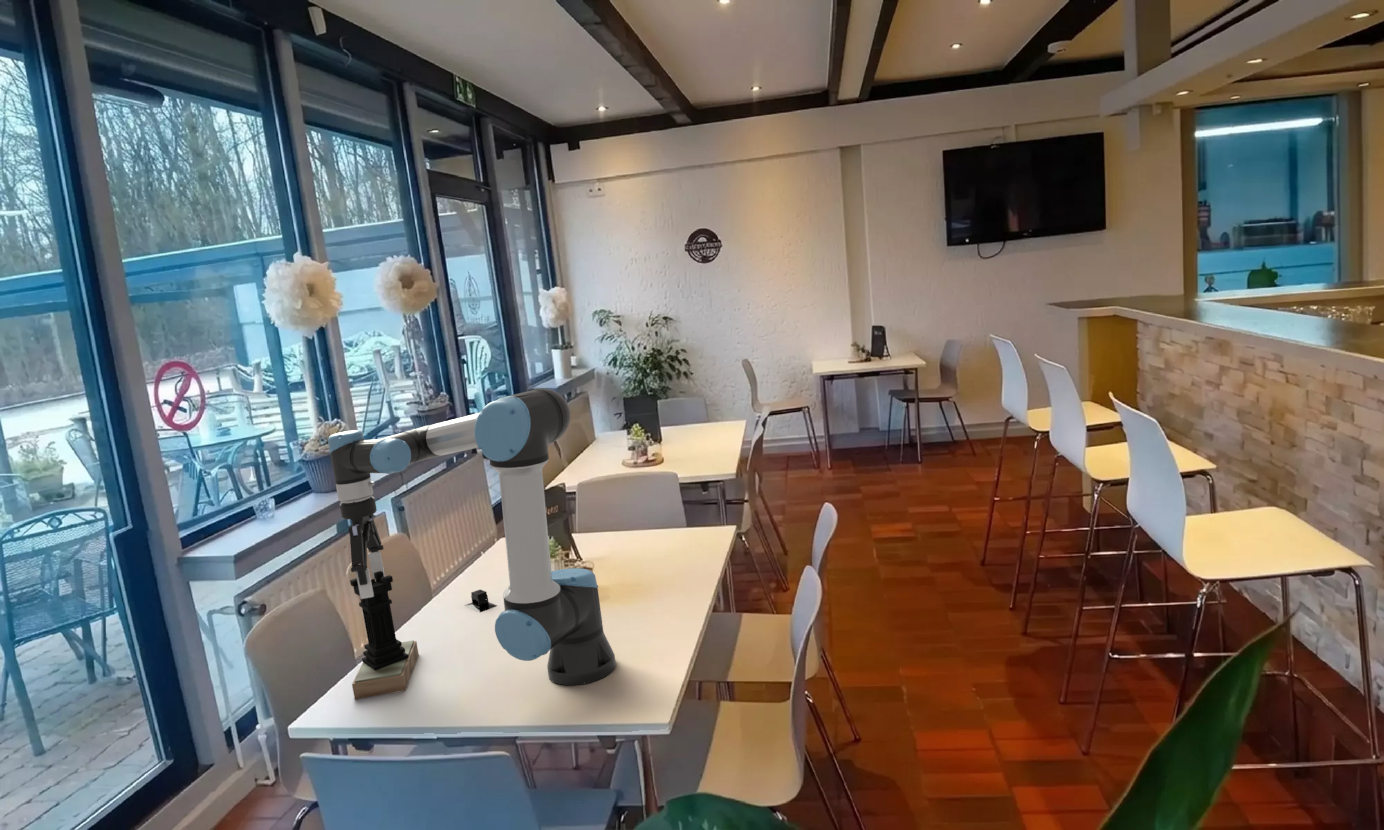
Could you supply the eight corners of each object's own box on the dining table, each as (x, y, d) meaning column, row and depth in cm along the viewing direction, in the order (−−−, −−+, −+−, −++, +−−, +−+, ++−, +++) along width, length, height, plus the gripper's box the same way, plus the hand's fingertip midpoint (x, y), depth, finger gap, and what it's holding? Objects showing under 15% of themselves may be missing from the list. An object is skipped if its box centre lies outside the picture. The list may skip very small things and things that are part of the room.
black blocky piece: (503, 608, 240) (500, 592, 239) (480, 617, 235) (477, 600, 234) (481, 599, 249) (479, 583, 248) (458, 607, 244) (456, 592, 243)
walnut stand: (405, 690, 193) (402, 673, 192) (354, 699, 191) (351, 682, 190) (418, 654, 212) (416, 639, 212) (372, 662, 211) (369, 646, 210)
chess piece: (362, 661, 202) (347, 580, 198) (395, 649, 207) (381, 570, 204) (375, 670, 195) (359, 587, 192) (408, 657, 201) (394, 576, 198)
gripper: (362, 508, 183) (379, 603, 187) (384, 484, 208) (399, 568, 211) (325, 514, 182) (344, 609, 185) (351, 489, 207) (367, 573, 210)
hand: (373, 587), depth 198 cm, fingers open, 13 cm apart
